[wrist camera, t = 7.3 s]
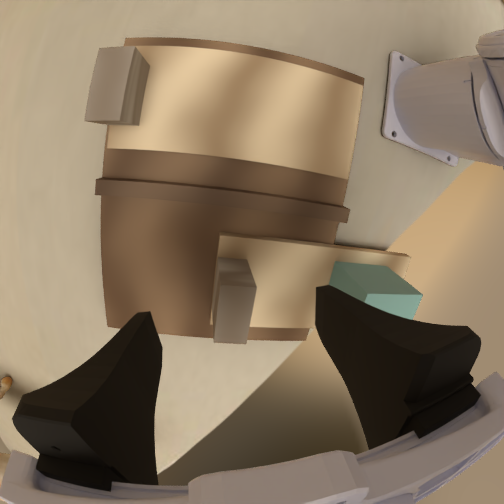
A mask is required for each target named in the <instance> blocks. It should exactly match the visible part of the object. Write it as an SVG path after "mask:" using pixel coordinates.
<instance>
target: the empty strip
mask: <svg viewBox="0 0 504 504" xmlns="http://www.w3.org/2000/svg"><path fill="white" fill-rule="evenodd" d="M362 92H363V86H362V85H360V84H357V83H354V82H352V81H349V80H346V79H343V78H340V77H337V76H334V75H331V74H328V73H325V72H321V71H318V70H315V69H311V68H308V67H304V66H300V65H296V64H292V63H288V62H284V61H280V60H275V59H271V58H266V57H261V56H256V55H250V54H244V53H238V52H231V51H224V50H216V49H206V48H195V47H180V46H124V47H108V48H99V51H98V55H97V59H96V63H95V67H94V71H93V76H92V80H91V85H90V90H89V95H88V101H87V107H86V113H85V120H84V121H88V122H94V123H100V124H106V125H110V127H109V135H108V144H107V148H114V149H138V150H155V151H169V152H180V153H191V154H201V155H210V156H218V157H226V158H233V159H241V160H248V161H254V162H261V163H267V164H273V165H279V166H284V167H290V168H295V169H301V170H306V171H311V172H316V173H320V174H325V175H330V176H334V177H339V178H343V179H347V180H348V177H349V172H350V167H351V162H352V156H353V151H354V145H355V139H356V133H357V127H358V120H359V114H360V107H361V99H362Z"/></svg>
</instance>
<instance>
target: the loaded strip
mask: <svg viewBox="0 0 504 504" xmlns="http://www.w3.org/2000/svg"><path fill="white" fill-rule="evenodd" d="M410 259H411V257H410V256H408V255H407V254H402V253H395V252H387V251H380V250H372V249H364V248H356V247H348V246H340V245H332V244H324V243H315V242H307V241H299V240H290V239H281V238H272V237H263V236H254V235H245V234H236V233H226V232H220V235H219V243H218V251H217V259H216V268H215V276H214V285H213V294H212V303H211V313H210V325H213V338H214V343H233V344H246V342H247V337H248V332H249V327H268V328H316V326H315V306H316V287H319V286H324V285H329V281H330V278H331V274H332V271H333V267H334V263H335V261H339V262H349V263H360V264H370V265H381V266H387V267H389V268H390V269H391V270H392V271H394V272H395V273H396V274H398V275H399V276H400V277H401V278H403V279H404V277H405V274H406V272H407V268H408V265H409V262H410Z"/></svg>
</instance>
